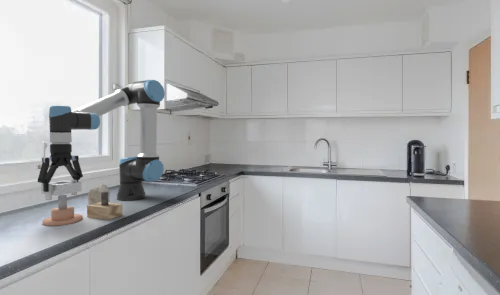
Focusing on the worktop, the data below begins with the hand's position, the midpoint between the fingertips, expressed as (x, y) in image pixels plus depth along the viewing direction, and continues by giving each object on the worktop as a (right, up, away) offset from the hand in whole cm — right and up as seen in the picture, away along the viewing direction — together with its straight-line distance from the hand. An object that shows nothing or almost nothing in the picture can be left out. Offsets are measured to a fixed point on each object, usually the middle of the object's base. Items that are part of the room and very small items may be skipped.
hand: (61, 197), depth 122 cm
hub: (0, -10, +1) cm, 10 cm away
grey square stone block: (0, +2, 0) cm, 2 cm away
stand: (+14, -10, +8) cm, 19 cm away
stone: (+5, -9, +21) cm, 24 cm away
